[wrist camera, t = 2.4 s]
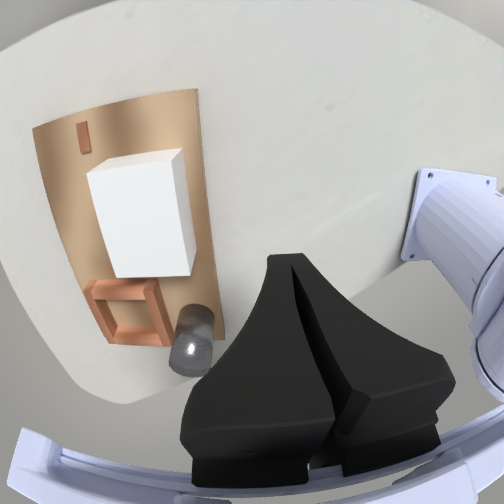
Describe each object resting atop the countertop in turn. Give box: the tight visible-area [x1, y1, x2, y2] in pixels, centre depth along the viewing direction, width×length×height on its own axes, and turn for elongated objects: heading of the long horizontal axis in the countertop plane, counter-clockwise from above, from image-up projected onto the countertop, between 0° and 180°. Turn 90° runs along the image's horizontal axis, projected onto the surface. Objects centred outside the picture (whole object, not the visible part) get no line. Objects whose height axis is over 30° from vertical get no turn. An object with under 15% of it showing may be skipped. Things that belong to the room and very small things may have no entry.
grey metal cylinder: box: [169, 304, 215, 377], centre depth 21 cm, size 3×3×5 cm
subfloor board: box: [32, 89, 225, 347], centre depth 19 cm, size 12×20×2 cm, turn 2°
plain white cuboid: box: [86, 148, 197, 278], centre depth 16 cm, size 5×7×3 cm
